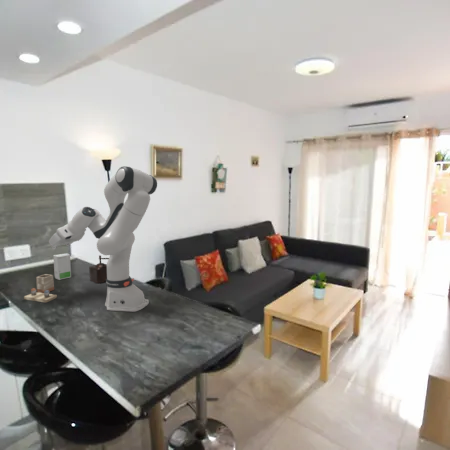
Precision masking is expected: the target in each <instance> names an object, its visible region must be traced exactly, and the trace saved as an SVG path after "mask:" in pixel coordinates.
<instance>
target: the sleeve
mask: <svg viewBox="0 0 450 450" xmlns="http://www.w3.org/2000/svg"><path fill="white" fill-rule="evenodd" d="M35 280H36V281H35V282H36V292H39V293H44V291H45V290H49V293H50V292H52V291H54V290H55V285H54V284H55V281H54V274H48V273H44V274H41V275H38V276H36V277H35Z"/></svg>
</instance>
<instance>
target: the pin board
mask: <svg viewBox="0 0 450 450" xmlns="http://www.w3.org/2000/svg"><path fill="white" fill-rule="evenodd" d="M57 298H58V295H57V294H52V293H50V292H49V290H45V291H44V293H39V292H37V288H36V287H32V288H31V289H30V293H29V294H27V295H26V294H25V295H24V296H23V300H27V301H34V302H39V303H40V302H41V303H46V304H47V303H48V302H51V301H53V300H54V299H57Z"/></svg>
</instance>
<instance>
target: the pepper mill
mask: <svg viewBox="0 0 450 450" xmlns="http://www.w3.org/2000/svg"><path fill="white" fill-rule="evenodd" d="M98 260H99V263H97V264H95V265H91V266H89V269H88V271H89V281H90V282H93V283H94V284H99V283H100V284H103V283H106V279H107V263H104V262H102V260H109V257H102V254H101V255H100V254H99V255H98Z"/></svg>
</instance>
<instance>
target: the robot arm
mask: <svg viewBox="0 0 450 450" xmlns="http://www.w3.org/2000/svg"><path fill="white" fill-rule="evenodd" d="M157 187H158V180H157V179H156V178H155V177H154V176H153V175H151V174H148V173H147V172H144V171H142V170H140V169H137V168H133V167H130V166H121V167H119V168H118V169H117V171H116V172H115V174H114V175H113V176H112V177H111V178H110V179H109V181H108V182H107V184H106V185H105V186H104V190H103V192H104V193H103V194H104V197H105V199H106V202H107V203H108V207H109V214H108V216H107V218H106V219H105V218H104V217H103V215H102V214H101V213H100V212H99V211H98V210H97V209H95V208H92V207H90V206H84V207H82V208H80V209H79V210H78V211H77V212H76V213H75V215H74V216H73V217H72V219H71V220H70V221H69V222H68V223H67V224H65V225H63V226H61V227H58V228H57V229H55V231H56V232H55V233H53V235H51V237H50V239H49V240H48V244H49V245H50V247H51V249H52V250H53V251H54V250H56V249H57V248H58V247H59V246H62V245H65V246H66V247H68V246H71V244H73V243H74V242H79V241H81V240H82V239H83V237H84V236H85V233H86V231H87V228H88V229H89V230H90V231H91V232H92V235H94V237H95V238H96V239H98V240H97V242H96V249H97V251H98V252H99V253H100V254H101V255H103V256H109V257H108V258H109V259H107V262H106V264H107V279H106V282H105V284H106V288H107V289H106V299H105V303H104V307H106V311H114V312H115V311H117V312H131V313H132V312H133V313H134V312H139V311H140V310H142V309H144V308H145V307H147V306H148V305H149V303H150V300H149V299H146V298H145V294H144V291H143V290H141V289H140V288H139V287H137V286H136V285H135V284H134V281H135V278H132V277H131V276H130V260H131V255H132V253H131V252H132V250H133V249H132V248H133V244H134V242H135V240H136V239H135V238H136V237H135V233H134V231H136V230H137V228H138V227H139V225H140V223H141V221H142V220H143V218H144V216H145V214H146V212H147V210H148V208H149V204H150V201H151V196H150V195H152V194H154V193H155V192H156V190H157ZM126 196H127V197H126ZM125 198H126V200H125Z"/></svg>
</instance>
